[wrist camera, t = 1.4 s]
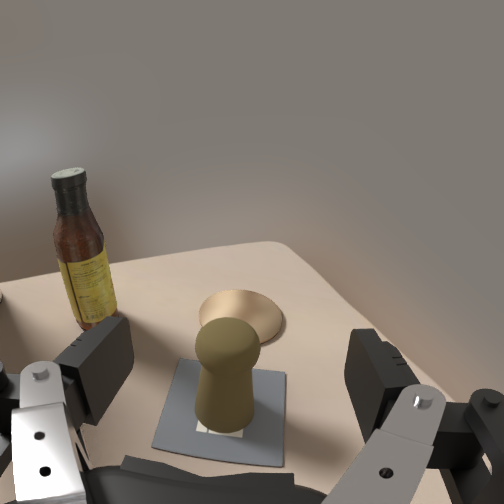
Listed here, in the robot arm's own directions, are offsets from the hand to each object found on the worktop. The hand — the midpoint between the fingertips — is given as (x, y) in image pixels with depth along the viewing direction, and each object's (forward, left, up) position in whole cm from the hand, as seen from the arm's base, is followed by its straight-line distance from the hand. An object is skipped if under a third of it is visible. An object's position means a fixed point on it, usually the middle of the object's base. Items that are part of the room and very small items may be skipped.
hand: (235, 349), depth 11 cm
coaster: (-1, +25, -20) cm, 32 cm away
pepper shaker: (-1, +10, -20) cm, 23 cm away
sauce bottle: (-20, +20, -20) cm, 35 cm away
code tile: (-1, +10, -20) cm, 23 cm away
